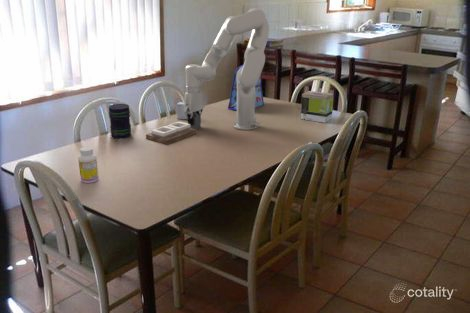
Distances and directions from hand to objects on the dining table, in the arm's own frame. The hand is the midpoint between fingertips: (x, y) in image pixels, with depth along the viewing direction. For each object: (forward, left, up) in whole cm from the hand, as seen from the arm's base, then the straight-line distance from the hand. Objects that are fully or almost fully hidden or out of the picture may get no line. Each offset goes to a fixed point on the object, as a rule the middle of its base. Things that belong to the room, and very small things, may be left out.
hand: (194, 123), depth 236 cm
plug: (0, 0, -3) cm, 3 cm away
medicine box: (+16, -10, -3) cm, 19 cm away
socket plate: (+1, +17, 0) cm, 17 cm away
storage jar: (+20, +32, -3) cm, 38 cm away
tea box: (-43, -54, -3) cm, 69 cm away
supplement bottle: (-13, +75, -3) cm, 76 cm away
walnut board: (0, +17, -2) cm, 17 cm away
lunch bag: (+3, -51, -3) cm, 51 cm away
